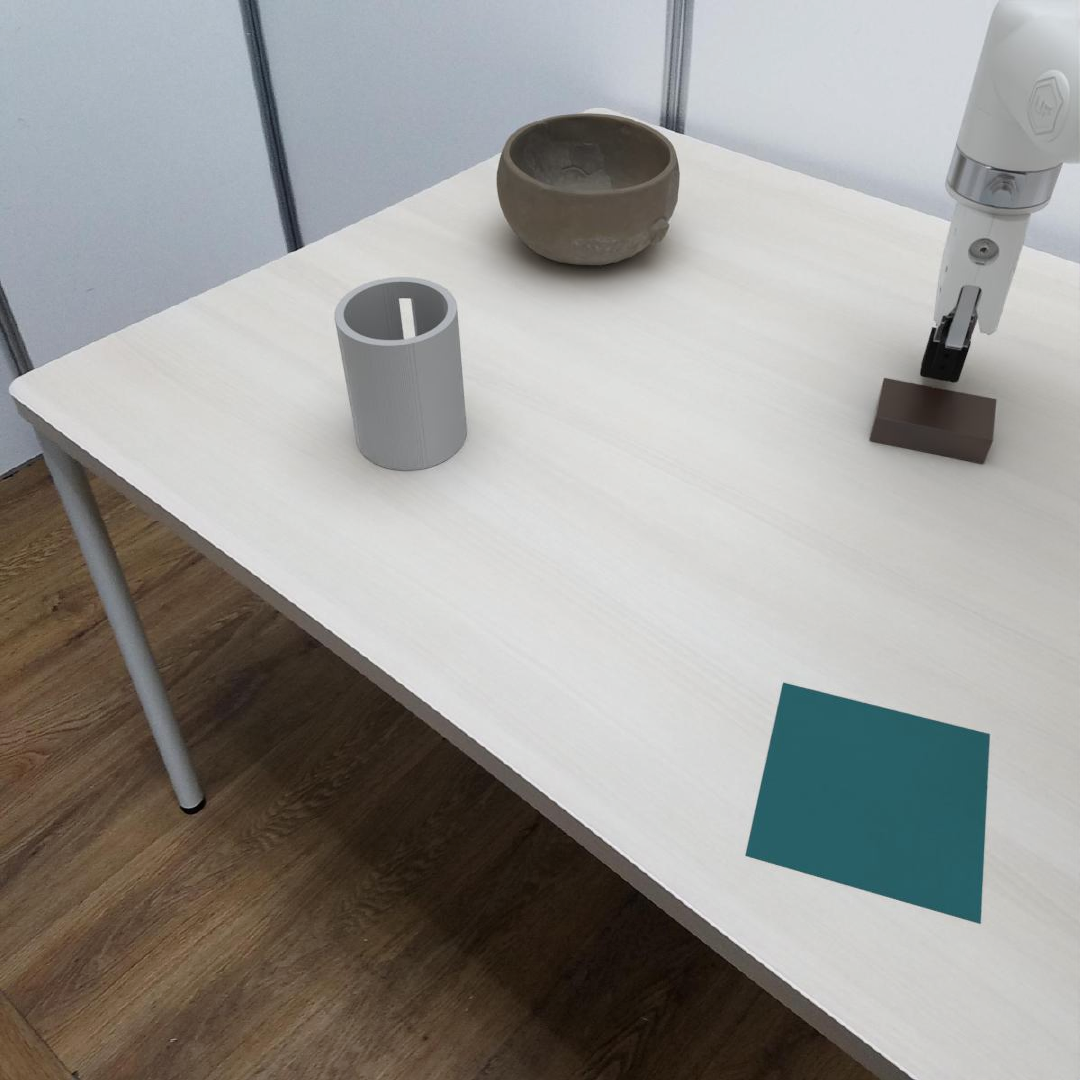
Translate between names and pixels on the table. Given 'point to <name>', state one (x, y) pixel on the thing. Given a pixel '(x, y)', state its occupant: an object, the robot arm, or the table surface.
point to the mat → (875, 801)
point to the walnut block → (934, 420)
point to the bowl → (588, 187)
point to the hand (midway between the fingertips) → (939, 374)
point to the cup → (403, 372)
